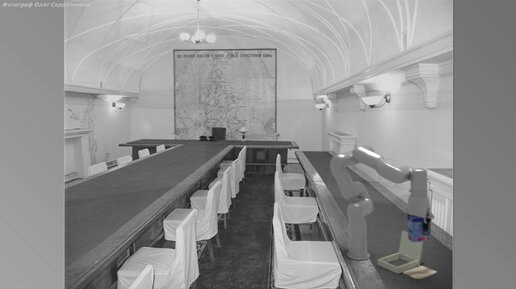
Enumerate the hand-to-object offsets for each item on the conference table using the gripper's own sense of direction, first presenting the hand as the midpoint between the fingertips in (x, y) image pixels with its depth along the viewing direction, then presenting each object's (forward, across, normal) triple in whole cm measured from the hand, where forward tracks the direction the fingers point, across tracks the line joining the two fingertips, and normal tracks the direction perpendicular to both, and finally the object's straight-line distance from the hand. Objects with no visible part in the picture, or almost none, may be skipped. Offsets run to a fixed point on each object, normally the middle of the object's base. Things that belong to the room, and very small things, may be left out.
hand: (419, 228), depth 175 cm
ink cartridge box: (+6, 0, 0) cm, 6 cm away
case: (+23, -12, +1) cm, 26 cm away
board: (+23, 0, 0) cm, 23 cm away
